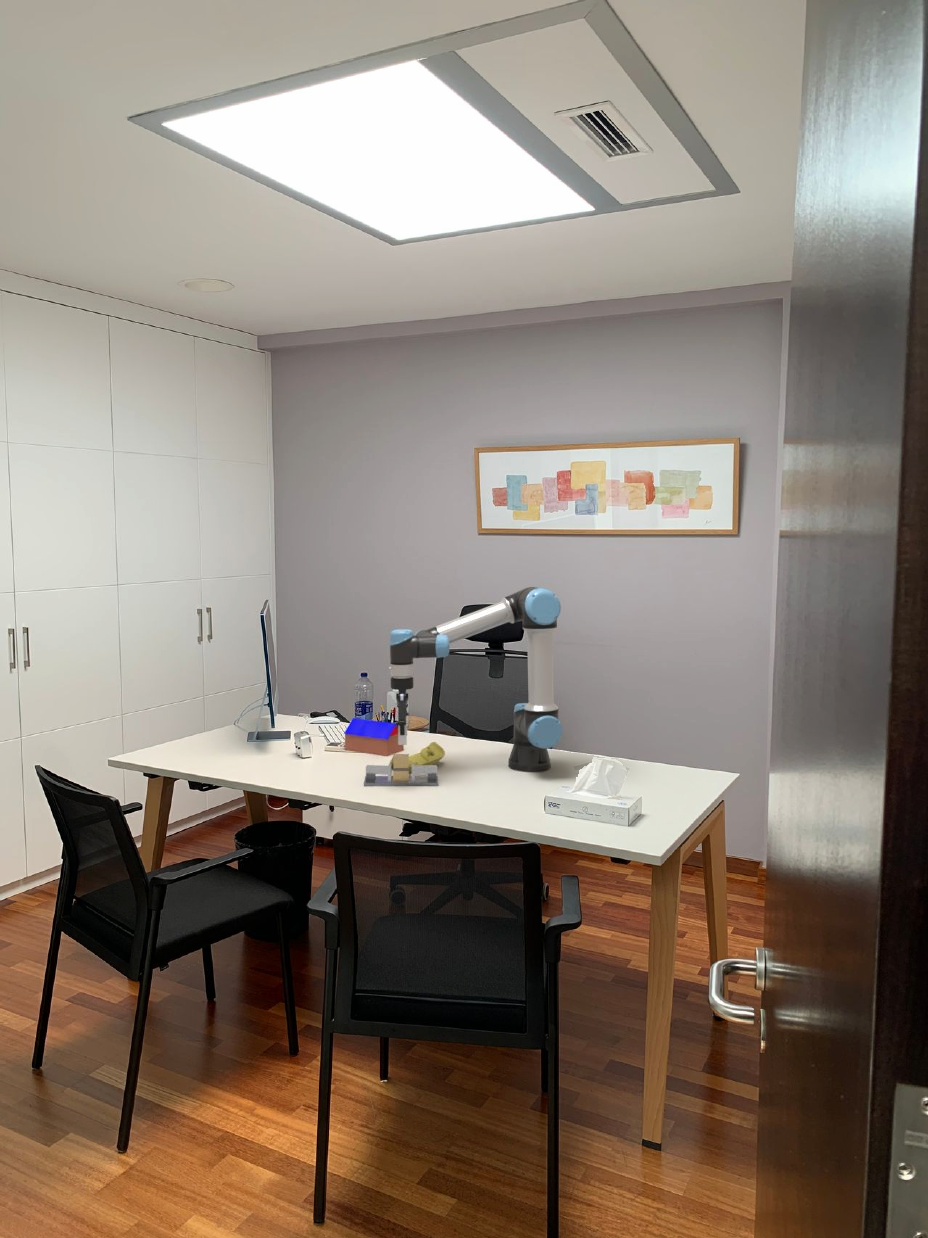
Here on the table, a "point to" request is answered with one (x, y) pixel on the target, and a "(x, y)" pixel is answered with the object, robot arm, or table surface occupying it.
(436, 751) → the plastic component
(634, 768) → the table surface
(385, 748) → the house
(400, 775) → the banded wooden block
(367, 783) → the shaft bench
